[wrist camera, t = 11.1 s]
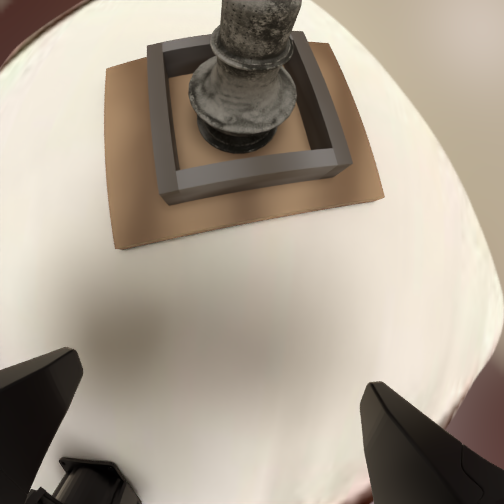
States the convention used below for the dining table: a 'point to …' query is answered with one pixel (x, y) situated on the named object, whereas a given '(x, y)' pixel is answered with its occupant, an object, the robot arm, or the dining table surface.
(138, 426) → the dining table surface
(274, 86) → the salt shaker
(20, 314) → the dining table surface
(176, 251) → the dining table surface
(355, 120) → the collar holder
